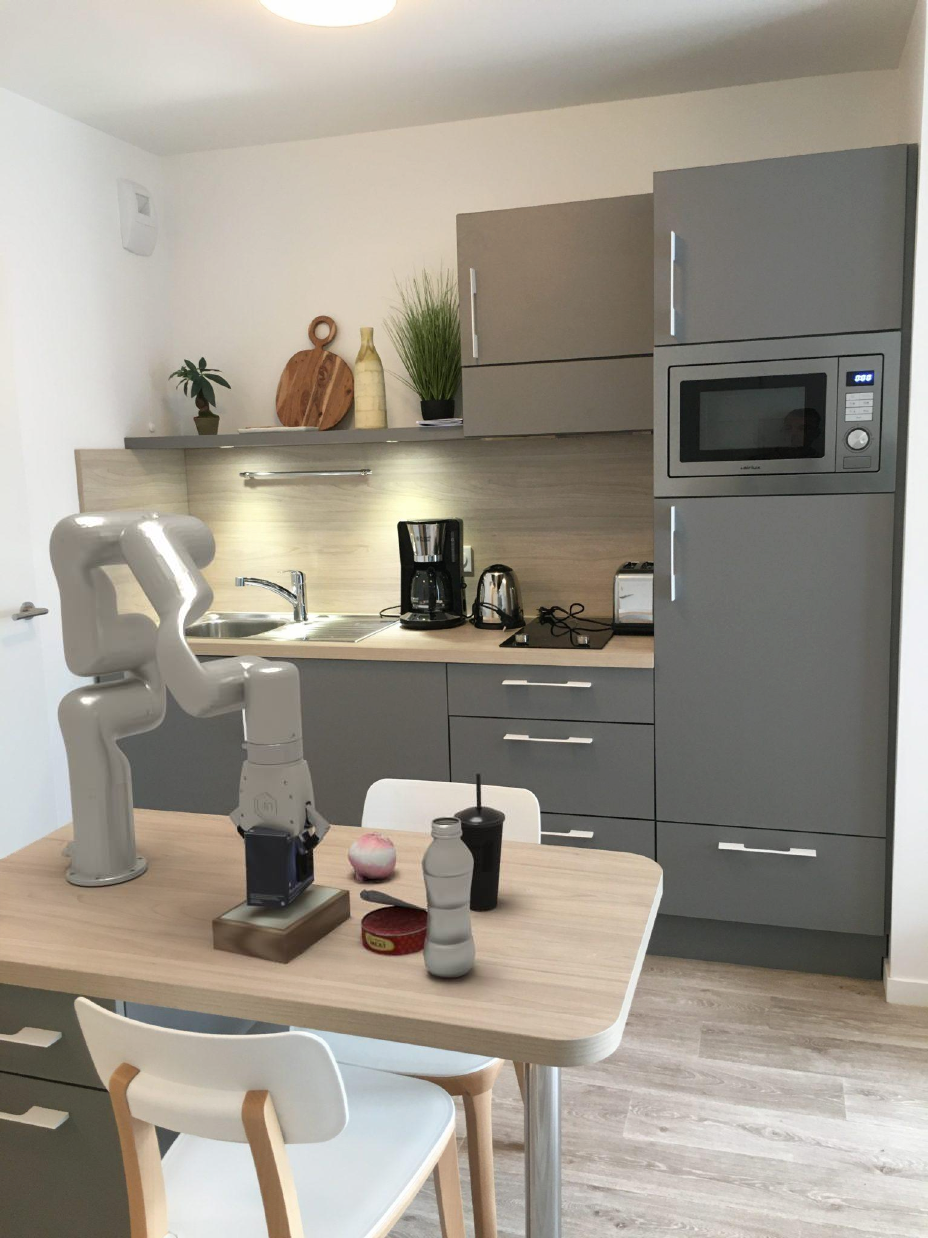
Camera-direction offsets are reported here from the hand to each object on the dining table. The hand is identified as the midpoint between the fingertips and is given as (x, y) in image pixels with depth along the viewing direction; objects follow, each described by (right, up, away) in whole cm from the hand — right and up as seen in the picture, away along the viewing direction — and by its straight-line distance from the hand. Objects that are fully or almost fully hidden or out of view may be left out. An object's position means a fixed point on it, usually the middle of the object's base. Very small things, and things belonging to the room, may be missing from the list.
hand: (281, 874), depth 141 cm
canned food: (+16, -9, -2) cm, 19 cm away
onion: (+11, -6, +21) cm, 25 cm away
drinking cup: (+28, -7, +9) cm, 30 cm away
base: (0, -8, +1) cm, 8 cm away
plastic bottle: (+24, -10, -12) cm, 28 cm away
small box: (0, -3, 0) cm, 3 cm away
